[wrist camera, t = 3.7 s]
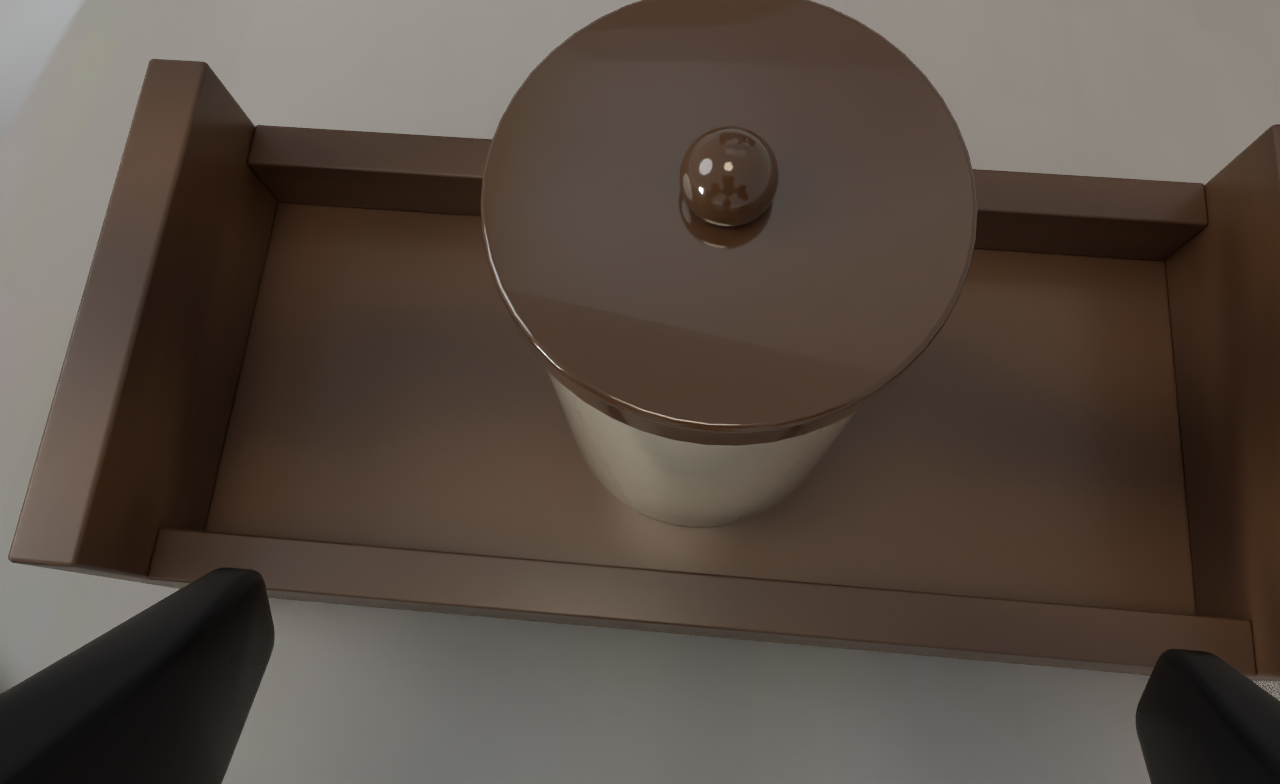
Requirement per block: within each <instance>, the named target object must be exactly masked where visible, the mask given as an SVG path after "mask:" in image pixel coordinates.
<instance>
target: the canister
mask: <svg viewBox="0 0 1280 784" xmlns="http://www.w3.org/2000/svg"><path fill="white" fill-rule="evenodd" d="M480 212H481V230H482V237H483V242H484V247H485V252H486V257H487V262H488V265H489V268H490V270H491V273H492V276H493V279H494V282H495V284H496V287H497V290H498V292H499V295H500V297H501V299H502V301H503V304H504V306H505V308H506V310H507V312H508V314H509V316H510V318H511V320H512V321H513V323H514V325H515V327H516V329H517V331H518V333H519V335H520V336H521V338H522V339H523V340H524V342H525V343H526V345H527V346H528V347H529V349H530V350H531V351H532V353H533V354H534V355H535V357H536V358H537V360H538V361H539V362H540V363H541V364H542V365H543V366H544V367H545V368H546V369H547V371H548V374H549V376H550V379H551V381H552V384H553V386H554V389H555V391H556V394H557V397H558V399H559V402H560V404H561V407H562V409H563V412H564V414H565V417H566V419H567V422H568V424H569V427H570V429H571V432H572V434H573V437H574V439H575V442H576V444H577V447H578V449H579V451H580V453H581V455H582V457H583V459H584V461H585V463H586V464H587V466H588V467H589V469H590V470H591V471H592V473H593V474H594V476H595V477H596V478H597V480H598V481H599V482H600V483H601V484H602V485H603V486H604V487H605V488H606V489H607V490H608V491H609V492H610V493H611V494H613V495H614V496H615V497H616V498H618V499H619V500H620V501H621V502H622V503H624V504H626V505H627V506H629V507H631V508H632V509H634V510H636V511H637V512H639V513H642V514H644V515H646V516H648V517H651V518H653V519H656V520H659V521H662V522H666V523H669V524H674V525H680V526H687V527H716V526H725V525H729V524H733V523H738V522H742V521H745V520H747V519H750V518H752V517H755V516H758V515H760V514H762V513H764V512H765V511H767V510H769V509H771V508H773V507H774V506H776V505H777V504H779V503H780V502H781V501H783V500H784V499H785V498H787V497H788V496H789V495H790V494H791V493H792V492H793V491H794V490H795V489H796V488H797V487H798V486H799V485H800V484H801V483H802V482H803V481H804V480H805V478H806V477H807V476H808V474H809V473H810V472H811V471H812V469H813V468H814V467H815V465H816V464H817V463H818V461H819V460H820V459H821V457H822V456H823V455H824V454H825V452H826V451H827V450H828V448H829V447H830V446H831V444H832V443H833V442H834V441H835V439H836V438H837V437H838V435H839V434H840V433H841V431H842V430H843V429H844V427H845V426H846V425H847V424H848V422H849V421H850V420H851V418H852V417H853V416H854V414H855V413H856V412H857V411H858V410H860V409H862V408H864V407H865V406H866V405H868V404H869V403H870V402H872V401H873V400H875V399H876V398H877V397H879V396H880V395H881V394H883V393H884V392H885V391H887V390H888V389H889V388H890V387H891V386H892V385H893V384H894V383H895V382H896V381H897V380H899V379H900V378H901V377H902V376H903V375H904V374H905V373H906V372H907V371H908V370H909V369H910V368H911V367H912V365H913V364H914V363H915V362H916V361H917V359H918V358H919V357H920V356H921V355H922V353H923V352H924V351H925V350H926V348H927V347H928V346H929V345H930V343H931V342H932V341H933V339H934V338H935V337H936V335H937V334H938V333H939V332H940V330H941V329H942V328H943V326H944V325H945V323H946V321H947V319H948V317H949V316H950V314H951V312H952V310H953V308H954V307H955V305H956V303H957V301H958V299H959V297H960V295H961V292H962V289H963V287H964V284H965V281H966V279H967V276H968V273H969V271H970V266H971V261H972V257H973V252H974V247H975V243H976V230H977V213H978V211H977V199H976V188H975V180H974V175H973V171H972V167H971V163H970V158H969V154H968V151H967V148H966V146H965V143H964V140H963V138H962V135H961V133H960V130H959V128H958V125H957V123H956V121H955V120H954V118H953V116H952V114H951V112H950V111H949V109H948V107H947V105H946V104H945V102H944V100H943V98H942V97H941V96H940V94H939V93H938V92H937V90H936V89H935V88H934V86H933V85H932V84H931V82H930V81H929V80H928V78H927V77H926V76H925V75H924V74H923V73H922V72H921V71H920V70H919V69H918V67H917V66H916V65H915V64H914V63H913V62H912V61H911V60H910V59H909V58H908V57H907V56H906V55H905V54H904V53H902V52H901V51H900V50H899V49H897V48H896V47H895V46H894V45H892V44H891V43H890V42H889V41H888V40H886V39H885V38H884V37H883V36H881V35H880V34H878V33H876V32H875V31H873V30H872V29H870V28H868V27H867V26H865V25H864V24H862V23H860V22H859V21H857V20H855V19H853V18H851V17H849V16H847V15H845V14H843V13H841V12H838V11H836V10H834V9H832V8H830V7H827V6H824V5H822V4H819V3H816V2H813V1H810V0H642V1H639V2H636V3H633V4H630V5H627V6H624V7H622V8H620V9H618V10H616V11H614V12H611V13H609V14H607V15H605V16H603V17H601V18H599V19H597V20H595V21H594V22H592V23H591V24H589V25H587V26H586V27H584V28H582V29H581V30H579V31H578V32H576V33H574V34H573V35H572V36H571V37H569V38H568V39H567V40H566V41H564V42H563V43H562V44H561V45H559V46H558V47H557V48H555V49H554V50H553V51H552V52H551V53H550V54H549V55H548V56H547V57H546V58H545V59H544V60H543V61H542V62H541V63H540V64H539V65H538V66H537V67H536V68H535V69H534V70H533V71H532V72H531V74H530V75H529V76H528V78H527V79H526V80H525V82H524V83H523V84H522V86H521V87H520V88H519V90H518V91H517V92H516V94H515V95H514V97H513V98H512V100H511V102H510V104H509V106H508V107H507V109H506V111H505V113H504V114H503V116H502V118H501V120H500V122H499V125H498V127H497V130H496V132H495V135H494V137H493V140H492V143H491V145H490V148H489V151H488V156H487V160H486V164H485V168H484V172H483V178H482V189H481V200H480Z"/></svg>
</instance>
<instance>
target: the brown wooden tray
mask: <svg viewBox="0 0 1280 784" xmlns="http://www.w3.org/2000/svg"><path fill="white" fill-rule="evenodd" d="M491 143H492V140H490V139H474V138H458V137H442V136H425V135H409V134H393V133H377V132H361V131H344V130H328V129H312V128H296V127H280V126H263V125H257V126H256V127H255V126H254V125H253V123H252V122H251V121H250V119H249V118H248V117H247V115H246V114H245V113H244V111H243V110H242V109H241V107H240V106H239V105H238V104H237V102H236V101H235V100H234V98H233V97H232V96H231V94H230V93H229V92H228V90H227V89H226V88H225V86H224V85H223V84H222V82H221V81H220V80H219V79H218V77H217V76H216V75H215V73H214V72H213V71H212V69H211V68H210V67H209V65H208V64H207V63H205V62H197V61H180V60H162V59H152V60H150V61H149V65H148V68H147V72H146V75H145V79H144V82H143V86H142V89H141V93H140V96H139V100H138V103H137V107H136V110H135V114H134V117H133V121H132V124H131V128H130V131H129V135H128V138H127V142H126V145H125V149H124V152H123V156H122V159H121V163H120V167H119V170H118V174H117V177H116V181H115V184H114V188H113V191H112V195H111V198H110V202H109V205H108V209H107V212H106V216H105V219H104V223H103V226H102V230H101V233H100V237H99V240H98V244H97V247H96V251H95V254H94V258H93V261H92V265H91V268H90V272H89V275H88V279H87V282H86V286H85V289H84V293H83V296H82V300H81V303H80V307H79V310H78V314H77V317H76V321H75V324H74V328H73V331H72V335H71V338H70V342H69V345H68V349H67V352H66V356H65V359H64V363H63V366H62V370H61V373H60V377H59V381H58V384H57V388H56V391H55V395H54V398H53V402H52V405H51V409H50V412H49V416H48V419H47V423H46V426H45V430H44V433H43V437H42V440H41V444H40V447H39V451H38V454H37V458H36V461H35V465H34V468H33V472H32V475H31V479H30V482H29V486H28V489H27V493H26V496H25V500H24V503H23V507H22V510H21V514H20V517H19V521H18V524H17V528H16V531H15V535H14V538H13V542H12V545H11V549H10V552H9V556H8V558H9V560H10V561H11V562H13V563H19V564H26V565H32V566H39V567H45V568H51V569H58V570H64V571H71V572H77V573H83V574H90V575H96V576H103V577H109V578H116V579H122V580H128V581H135V582H141V583H147V584H153V585H160V586H166V587H173V588H179V589H182V588H183V587H185V586H187V585H189V584H190V583H192V582H194V581H195V580H197V579H199V578H201V577H202V576H204V575H206V574H207V573H209V572H211V571H213V570H215V569H217V568H223V567H229V568H240V569H252V570H255V571H258V572H259V573H260V574H261V575H262V577H263V579H264V582H265V586H266V591H267V596H268V598H278V599H290V600H301V601H313V602H324V603H335V604H347V605H358V606H369V607H381V608H392V609H403V610H415V611H426V612H438V613H449V614H460V615H472V616H483V617H494V618H506V619H517V620H528V621H540V622H551V623H563V624H574V625H585V626H597V627H608V628H619V629H631V630H642V631H654V632H665V633H676V634H688V635H699V636H710V637H722V638H733V639H744V640H756V641H767V642H779V643H790V644H801V645H813V646H824V647H835V648H847V649H858V650H870V651H881V652H892V653H904V654H915V655H926V656H938V657H949V658H960V659H972V660H983V661H995V662H1006V663H1017V664H1029V665H1040V666H1051V667H1063V668H1074V669H1086V670H1097V671H1108V672H1120V673H1131V674H1142V675H1151V674H1152V671H1153V669H1154V667H1155V664H1156V662H1157V660H1158V658H1159V656H1160V655H1161V654H1162V653H1163V652H1164V651H1166V650H1169V649H1184V650H1195V651H1205V652H1209V653H1212V654H1214V655H1216V656H1218V657H1219V658H1221V659H1222V660H1223V661H1225V662H1226V663H1228V664H1229V665H1230V666H1232V667H1233V668H1234V669H1236V670H1237V671H1239V672H1240V673H1241V674H1243V675H1244V676H1245V677H1247V678H1248V679H1250V680H1252V681H1280V125H1278V124H1277V125H1273V126H1271V127H1270V128H1269V129H1268V130H1267V131H1265V132H1264V133H1263V134H1262V135H1261V136H1260V137H1259V138H1258V139H1256V140H1255V141H1254V142H1253V143H1252V144H1251V145H1250V146H1248V147H1247V148H1246V149H1245V150H1244V151H1243V152H1242V153H1241V154H1239V155H1238V156H1237V157H1236V158H1235V159H1234V160H1233V161H1232V162H1230V163H1229V164H1228V165H1227V166H1226V167H1225V168H1224V169H1222V170H1221V171H1220V172H1219V173H1218V174H1217V175H1216V176H1215V177H1213V178H1212V179H1211V180H1210V181H1209V182H1208V183H1207V184H1206V185H1204V184H1202V183H1186V182H1170V181H1154V180H1138V179H1122V178H1105V177H1089V176H1073V175H1057V174H1041V173H1025V172H1008V171H992V170H976V169H972V171H973V175H974V180H975V188H976V199H977V211H978V213H977V230H976V243H975V247H974V252H973V257H972V261H971V266H970V271H969V273H968V276H967V279H966V281H965V284H964V287H963V289H962V292H961V295H960V297H959V299H958V301H957V303H956V305H955V307H954V308H953V310H952V312H951V314H950V316H949V317H948V319H947V321H946V323H945V325H944V326H943V328H942V329H941V330H940V332H939V333H938V334H937V335H936V337H935V338H934V339H933V341H932V342H931V343H930V345H929V346H928V347H927V348H926V350H925V351H924V352H923V353H922V355H921V356H920V357H919V358H918V359H917V361H916V362H915V363H914V364H913V365H912V367H911V368H910V369H909V370H908V371H907V372H906V373H905V374H904V375H903V376H902V377H901V378H900V379H899V380H897V381H896V382H895V383H894V384H893V385H892V386H891V387H890V388H889V389H888V390H887V391H885V392H884V393H883V394H881V395H880V396H879V397H877V398H876V399H875V400H873V401H872V402H870V403H869V404H868V405H866V406H865V407H864V408H862V409H860V410H858V411H857V412H856V413H855V414H854V416H853V417H852V418H851V420H850V421H849V422H848V424H847V425H846V426H845V427H844V429H843V430H842V431H841V433H840V434H839V435H838V437H837V438H836V439H835V441H834V442H833V443H832V444H831V446H830V447H829V448H828V450H827V451H826V452H825V454H824V455H823V456H822V457H821V459H820V460H819V461H818V463H817V464H816V465H815V467H814V468H813V469H812V471H811V472H810V473H809V474H808V476H807V477H806V478H805V480H804V481H803V482H802V483H801V484H800V485H799V486H798V487H797V488H796V489H795V490H794V491H793V492H792V493H791V494H790V495H789V496H788V497H787V498H785V499H784V500H783V501H781V502H780V503H779V504H777V505H776V506H774V507H773V508H771V509H769V510H767V511H765V512H764V513H762V514H760V515H758V516H755V517H752V518H750V519H747V520H745V521H742V522H738V523H733V524H729V525H725V526H716V527H687V526H680V525H674V524H669V523H666V522H662V521H659V520H656V519H653V518H651V517H648V516H646V515H644V514H642V513H639V512H637V511H636V510H634V509H632V508H631V507H629V506H627V505H626V504H624V503H622V502H621V501H620V500H619V499H618V498H616V497H615V496H614V495H613V494H611V493H610V492H609V491H608V490H607V489H606V488H605V487H604V486H603V485H602V484H601V483H600V482H599V481H598V480H597V478H596V477H595V476H594V474H593V473H592V471H591V470H590V469H589V467H588V466H587V464H586V463H585V461H584V459H583V457H582V455H581V453H580V451H579V449H578V447H577V444H576V442H575V439H574V437H573V434H572V432H571V429H570V427H569V424H568V422H567V419H566V417H565V414H564V412H563V409H562V407H561V404H560V402H559V399H558V397H557V394H556V391H555V389H554V386H553V384H552V381H551V379H550V376H549V374H548V371H547V369H546V368H545V367H544V366H543V365H542V364H541V363H540V362H539V361H538V360H537V358H536V357H535V355H534V354H533V353H532V351H531V350H530V349H529V347H528V346H527V345H526V343H525V342H524V340H523V339H522V338H521V336H520V335H519V333H518V331H517V329H516V327H515V325H514V323H513V321H512V320H511V318H510V316H509V314H508V312H507V310H506V308H505V306H504V304H503V301H502V299H501V297H500V295H499V292H498V290H497V287H496V284H495V282H494V279H493V276H492V273H491V270H490V268H489V265H488V262H487V257H486V252H485V247H484V242H483V237H482V230H481V212H480V200H481V189H482V178H483V172H484V168H485V164H486V160H487V156H488V151H489V148H490V145H491Z"/></svg>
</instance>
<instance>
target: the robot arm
mask: <svg viewBox="0 0 1280 784" xmlns="http://www.w3.org/2000/svg"><path fill="white" fill-rule="evenodd" d="M273 645H274V625H273V620H272V615H271V610H270V605H269V600H268V596H267V591H266V586H265V582H264V579H263V577H262V575H261V574H260V573H259V572H258V571H255V570H252V569H240V568H229V567H223V568H217V569H215V570H213V571H211V572H209V573H207V574H206V575H204V576H202V577H201V578H199V579H197V580H195V581H194V582H192V583H190V584H189V585H187V586H185V587H183V588H182V589H180V590H178V591H177V592H175V593H173V594H171V595H170V596H168V597H166V598H165V599H163V600H161V601H160V602H158V603H156V604H154V605H153V606H151V607H149V608H148V609H146V610H144V611H142V612H141V613H139V614H137V615H136V616H134V617H132V618H130V619H129V620H127V621H125V622H124V623H122V624H120V625H118V626H117V627H115V628H113V629H112V630H110V631H108V632H107V633H105V634H103V635H101V636H100V637H98V638H96V639H95V640H93V641H91V642H89V643H88V644H86V645H84V646H83V647H81V648H79V649H77V650H76V651H74V652H72V653H71V654H69V655H67V656H65V657H64V658H62V659H60V660H59V661H57V662H55V663H54V664H52V665H50V666H48V667H47V668H45V669H43V670H42V671H40V672H38V673H36V674H35V675H33V676H31V677H30V678H28V679H26V680H24V681H23V682H21V683H19V684H18V685H16V686H14V687H12V688H11V689H9V690H7V691H6V692H4V693H2V694H1V695H0V784H221V783H222V781H223V778H224V776H225V773H226V771H227V768H228V766H229V763H230V761H231V758H232V755H233V753H234V750H235V748H236V745H237V742H238V740H239V737H240V735H241V732H242V729H243V727H244V724H245V721H246V719H247V716H248V714H249V711H250V708H251V706H252V703H253V701H254V698H255V695H256V693H257V690H258V688H259V685H260V682H261V680H262V677H263V674H264V672H265V669H266V667H267V664H268V661H269V659H270V656H271V653H272V650H273ZM1136 729H1137V734H1138V738H1139V741H1140V745H1141V749H1142V752H1143V756H1144V759H1145V763H1146V766H1147V770H1148V774H1149V777H1150V781H1151V784H1280V701H1279V700H1277V699H1276V698H1274V697H1273V696H1272V695H1270V694H1269V693H1268V692H1266V691H1265V690H1263V689H1262V688H1261V687H1259V686H1258V685H1256V684H1255V683H1254V682H1252V681H1251V680H1250V679H1248V678H1247V677H1245V676H1244V675H1243V674H1241V673H1240V672H1239V671H1237V670H1236V669H1234V668H1233V667H1232V666H1230V665H1229V664H1228V663H1226V662H1225V661H1223V660H1222V659H1221V658H1219V657H1218V656H1216V655H1214V654H1212V653H1209V652H1205V651H1195V650H1184V649H1169V650H1166V651H1164V652H1163V653H1162V654H1161V655H1160V656H1159V658H1158V660H1157V662H1156V664H1155V667H1154V669H1153V671H1152V674H1151V676H1150V678H1149V680H1148V683H1147V685H1146V687H1145V690H1144V692H1143V694H1142V697H1141V699H1140V701H1139V704H1138V707H1137V711H1136Z"/></svg>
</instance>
